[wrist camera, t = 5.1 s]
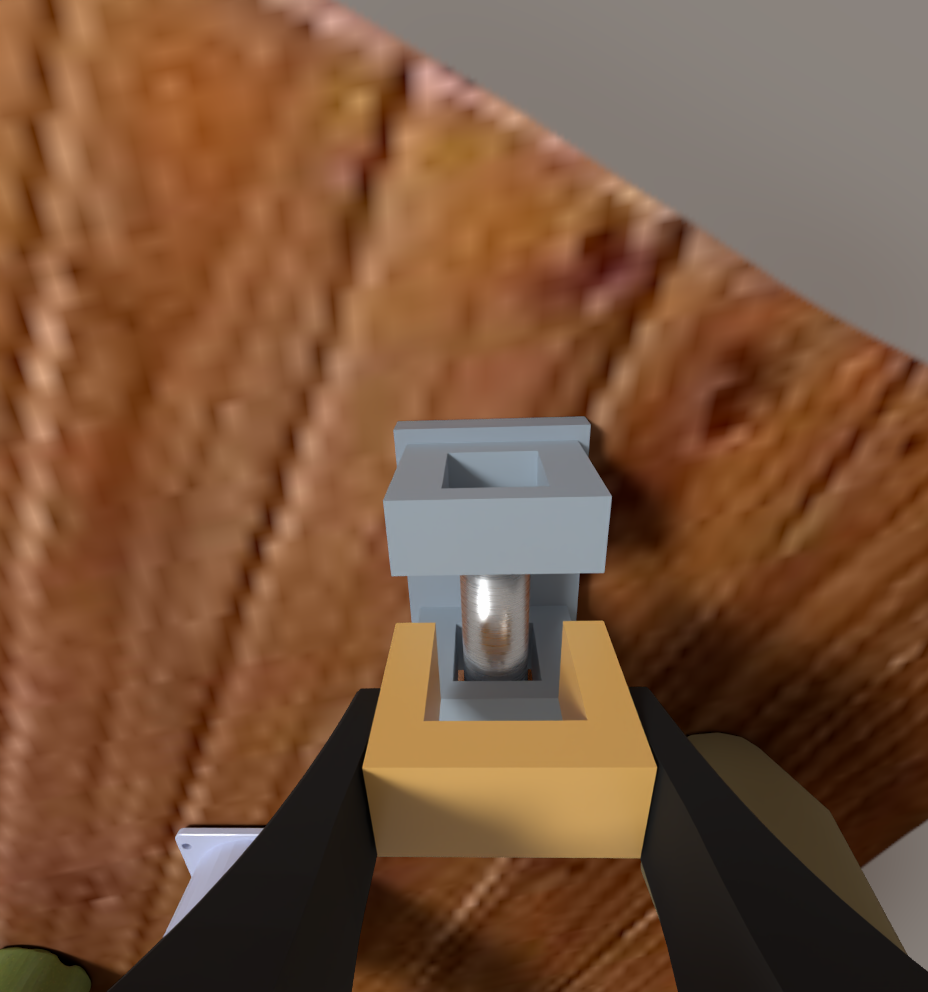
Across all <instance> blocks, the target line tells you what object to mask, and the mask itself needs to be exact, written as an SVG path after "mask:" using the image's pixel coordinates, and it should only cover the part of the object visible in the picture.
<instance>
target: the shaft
mask: <svg viewBox="0 0 928 992" xmlns="http://www.w3.org/2000/svg"><path fill="white" fill-rule="evenodd" d="M460 589H461V612H462V635H463V658H464V681H527V680H528V641H529V602H530V574H500V575H460Z"/></svg>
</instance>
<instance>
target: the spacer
mask: <svg viewBox="0 0 928 992" xmlns="http://www.w3.org/2000/svg"><path fill="white" fill-rule="evenodd" d="M558 699H559V704H560V709H561V715H562V720H563V721H439V715H440V704H441V693H440V679H439V665H438V651H437V637H436V623H396V625H395V630H394V634H393V638H392V643H391V647H390V651H389V655H388V660H387V664H386V668H385V673H384V677H383V681H382V685H381V690H380V694H379V698H378V703H377V707H376V711H375V715H374V720H373V724H372V728H371V733H370V737H369V741H368V745H367V750H366V754H365V758H364V763H363V767H362V769H363V775H364V780H365V786H366V792H367V798H368V803H369V809H370V815H371V821H372V827H373V832H374V838H375V844H376V850H377V856H378V857H536V858H640V857H641V852H642V846H643V841H644V836H645V830H646V825H647V820H648V814H649V809H650V803H651V798H652V793H653V787H654V782H655V777H656V771H657V766H656V763H655V760H654V757H653V755H652V752H651V749H650V746H649V744H648V741H647V738H646V736H645V733H644V730H643V727H642V725H641V722H640V719H639V716H638V714H637V711H636V708H635V705H634V703H633V700H632V697H631V695H630V692H629V689H628V686H627V684H626V681H625V678H624V675H623V673H622V670H621V667H620V664H619V662H618V659H617V656H616V654H615V651H614V648H613V645H612V643H611V640H610V637H609V634H608V632H607V629H606V626H605V624H604V621H563V631H562V647H561V663H560V680H559V696H558Z"/></svg>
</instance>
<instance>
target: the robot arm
mask: <svg viewBox="0 0 928 992" xmlns="http://www.w3.org/2000/svg"><path fill="white" fill-rule="evenodd" d="M628 689H629V692H630V695H631V697H632V700H633V703H634V705H635V708H636V711H637V714H638V716H639V719H640V722H641V725H642V727H643V730H644V733H645V736H646V738H647V741H648V744H649V746H650V749H651V752H652V755H653V757H654V760H655V763H656V766H657V771H656V777H655V782H654V787H653V793H652V798H651V803H650V809H649V814H648V820H647V825H646V830H645V836H644V841H643V846H642V852H641V857H640V859H641V863H642V866H643V869H644V872H645V875H646V878H647V881H648V884H649V888H650V891H651V894H652V897H653V900H654V903H655V906H656V909H657V912H658V916H659V919H660V922H661V926H662V930H663V933H664V937H665V940H666V944H667V947H668V952H669V956H670V960H671V964H672V968H673V973H674V977H675V981H676V985H677V989H678V992H928V971H926V970H925V969H924V968H923V967H921V966H920V965H919V964H917V963H916V962H915V961H914V960H912V959H911V958H910V957H909V956H908V955H907V954H905V953H904V952H903V951H902V950H901V949H899V948H898V947H897V946H896V945H895V944H894V943H892V942H891V941H890V940H889V939H888V938H887V937H885V936H884V935H883V934H882V933H881V932H880V931H878V930H877V929H876V928H875V927H874V926H872V925H871V924H870V923H869V922H868V921H867V920H865V919H864V918H863V917H862V916H861V915H860V914H858V913H857V912H856V911H855V910H854V909H852V908H851V907H850V906H849V905H848V904H847V903H845V902H844V901H843V900H842V899H841V898H840V897H839V896H838V895H837V894H836V893H834V892H833V891H832V890H831V889H830V888H829V887H828V886H827V885H826V884H825V883H824V882H823V881H821V880H820V879H819V878H818V877H817V876H816V875H815V874H814V873H813V872H812V871H811V870H810V869H808V868H807V867H806V866H805V865H804V864H803V863H802V862H801V861H800V860H799V859H798V858H797V857H796V856H795V855H794V854H793V853H792V852H791V851H790V850H789V849H788V848H787V847H786V846H785V845H784V844H783V843H782V842H781V841H780V840H779V839H778V838H777V837H776V836H775V835H774V834H773V833H772V832H771V831H770V830H769V829H768V828H767V827H766V826H765V825H764V824H763V823H762V822H761V821H760V820H759V819H758V818H757V817H756V816H755V815H754V813H753V812H752V811H751V810H750V809H749V808H748V807H747V806H746V805H745V804H744V803H743V802H742V801H741V800H740V798H739V797H738V796H737V795H736V794H735V793H734V792H733V791H732V790H731V789H730V787H729V786H728V785H727V784H726V783H725V782H724V781H723V780H722V778H721V777H720V776H719V775H718V774H717V773H716V771H715V770H714V769H713V768H712V767H711V766H710V764H709V763H708V762H707V761H706V760H705V759H704V757H703V756H702V755H701V754H700V753H699V751H698V750H697V749H696V748H695V747H694V745H693V744H692V743H691V742H690V741H689V739H688V738H687V737H686V736H685V734H684V733H683V732H682V731H681V729H680V728H679V727H678V726H677V724H676V723H675V722H674V720H673V719H672V718H671V717H670V715H669V714H668V713H667V711H666V710H665V709H664V708H663V706H662V705H661V704H660V702H659V701H658V700H657V698H656V697H655V696H654V694H653V693H652V692H651V691H650V690H649V689H648V688H647V687H628ZM380 690H381V688H371V689H360V690H359V691H358V692H357V693H356V695H355V696H354V698H353V700H352V702H351V703H350V705H349V707H348V709H347V710H346V712H345V714H344V715H343V717H342V719H341V720H340V722H339V723H338V725H337V727H336V728H335V730H334V731H333V733H332V735H331V736H330V738H329V739H328V741H327V742H326V744H325V745H324V747H323V748H322V750H321V751H320V753H319V754H318V756H317V757H316V759H315V760H314V762H313V763H312V764H311V766H310V767H309V769H308V770H307V772H306V773H305V775H304V776H303V777H302V779H301V780H300V782H299V783H298V784H297V786H296V787H295V788H294V790H293V791H292V792H291V794H290V795H289V796H288V798H287V799H286V800H285V802H284V803H283V804H282V806H281V807H280V808H279V810H278V811H277V812H276V814H275V815H274V816H273V817H272V819H271V820H270V821H269V822H268V824H267V825H266V826H265V827H264V828H182V829H180V830H179V831H178V833H177V835H176V837H175V840H176V842H177V844H178V847H179V849H180V851H181V854H182V856H183V858H184V860H185V863H186V865H187V867H188V870H189V872H190V874H191V876H192V878H191V880H190V882H189V884H188V886H187V888H186V890H185V892H184V894H183V897H182V899H181V901H180V903H179V905H178V907H177V909H176V911H175V913H174V915H173V918H172V920H171V922H170V924H169V926H168V928H167V930H166V932H165V934H164V937H163V938H162V939H161V940H160V941H159V942H158V943H157V944H156V945H155V946H154V947H153V948H152V949H151V950H150V951H149V952H148V953H147V954H146V955H145V956H144V957H143V958H142V959H141V960H140V961H139V962H138V963H137V964H136V965H135V966H133V967H132V968H131V969H130V970H129V971H128V972H127V973H126V974H125V975H124V976H123V977H122V978H121V979H120V980H119V981H118V982H116V983H115V984H114V985H113V986H112V987H111V988H110V989H109V990H108V991H107V992H352V986H353V979H354V972H355V965H356V958H357V951H358V944H359V938H360V933H361V927H362V922H363V917H364V912H365V907H366V903H367V898H368V894H369V889H370V885H371V880H372V876H373V871H374V867H375V862H376V858H377V850H376V844H375V838H374V832H373V827H372V821H371V815H370V809H369V803H368V798H367V792H366V786H365V780H364V775H363V769H362V767H363V763H364V758H365V754H366V750H367V745H368V741H369V737H370V733H371V728H372V724H373V720H374V715H375V711H376V707H377V703H378V698H379V694H380Z"/></svg>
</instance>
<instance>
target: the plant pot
mask: <svg viewBox="0 0 928 992" xmlns="http://www.w3.org/2000/svg"><path fill="white" fill-rule="evenodd" d="M90 988H91V981H90V979H89V977H88V975H87V974H86V972H85V970H84V969H83V968H81V967H80V966H77V965H73V966H66V965H64V964H62V963H61V962H60V960H59V959H58V957H57V956H56V955H54V954H51V952H49V951H46V950H42V949H24V948H21V947H10V948H6V949H0V992H89V991H90Z"/></svg>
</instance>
